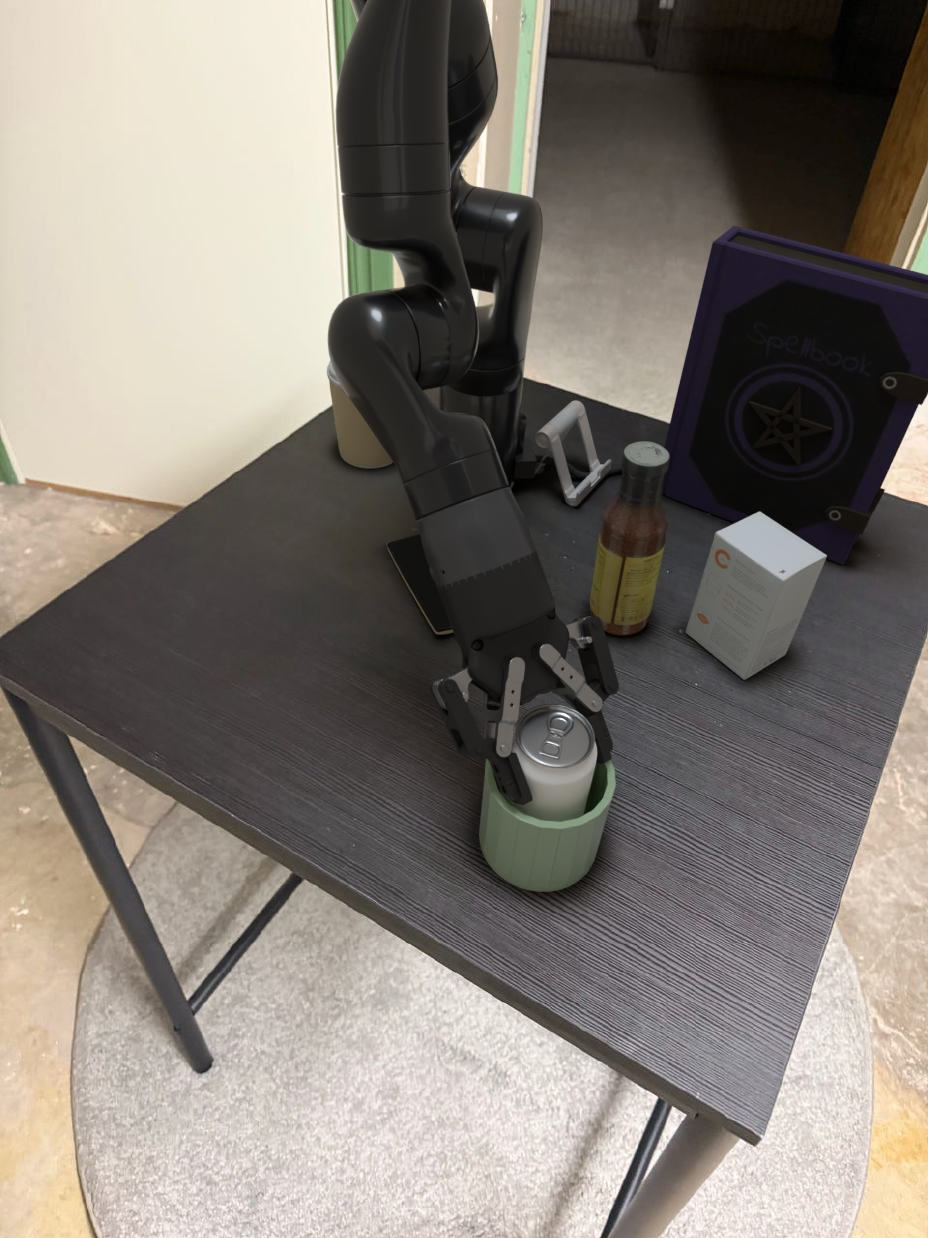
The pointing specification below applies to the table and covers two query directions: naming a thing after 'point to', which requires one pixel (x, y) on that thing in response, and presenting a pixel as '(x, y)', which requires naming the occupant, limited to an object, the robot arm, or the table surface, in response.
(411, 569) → the smartphone
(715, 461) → the book
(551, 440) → the tablet stand
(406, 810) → the table surface
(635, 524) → the sauce bottle
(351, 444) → the coffee cup
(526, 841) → the holder
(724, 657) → the small box
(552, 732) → the can
